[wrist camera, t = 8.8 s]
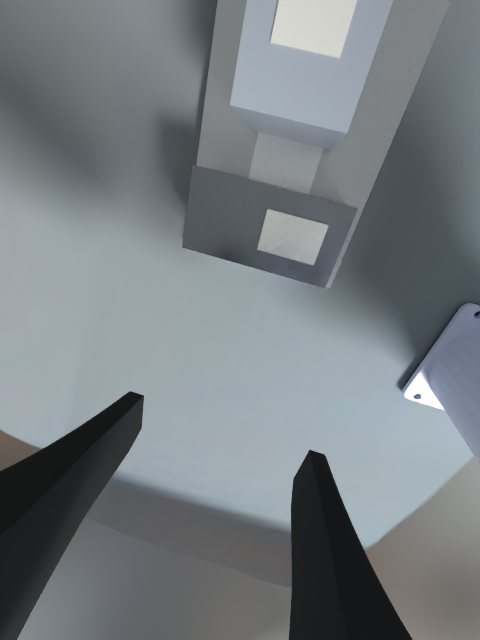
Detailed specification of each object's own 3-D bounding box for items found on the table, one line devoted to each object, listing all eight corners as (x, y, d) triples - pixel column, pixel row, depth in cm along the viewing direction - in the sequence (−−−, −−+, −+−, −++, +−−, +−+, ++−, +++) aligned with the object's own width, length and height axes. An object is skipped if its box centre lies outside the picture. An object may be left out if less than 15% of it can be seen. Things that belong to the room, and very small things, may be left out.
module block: (398, -49, 11) (469, -214, 6) (332, 150, 14) (348, 133, 10) (290, -70, 11) (285, -242, 7) (250, 129, 14) (228, 104, 10)
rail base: (595, -352, 8) (839, -794, 4) (328, 285, 18) (336, 310, 14) (274, -390, 9) (257, -806, 5) (188, 246, 19) (162, 260, 15)
